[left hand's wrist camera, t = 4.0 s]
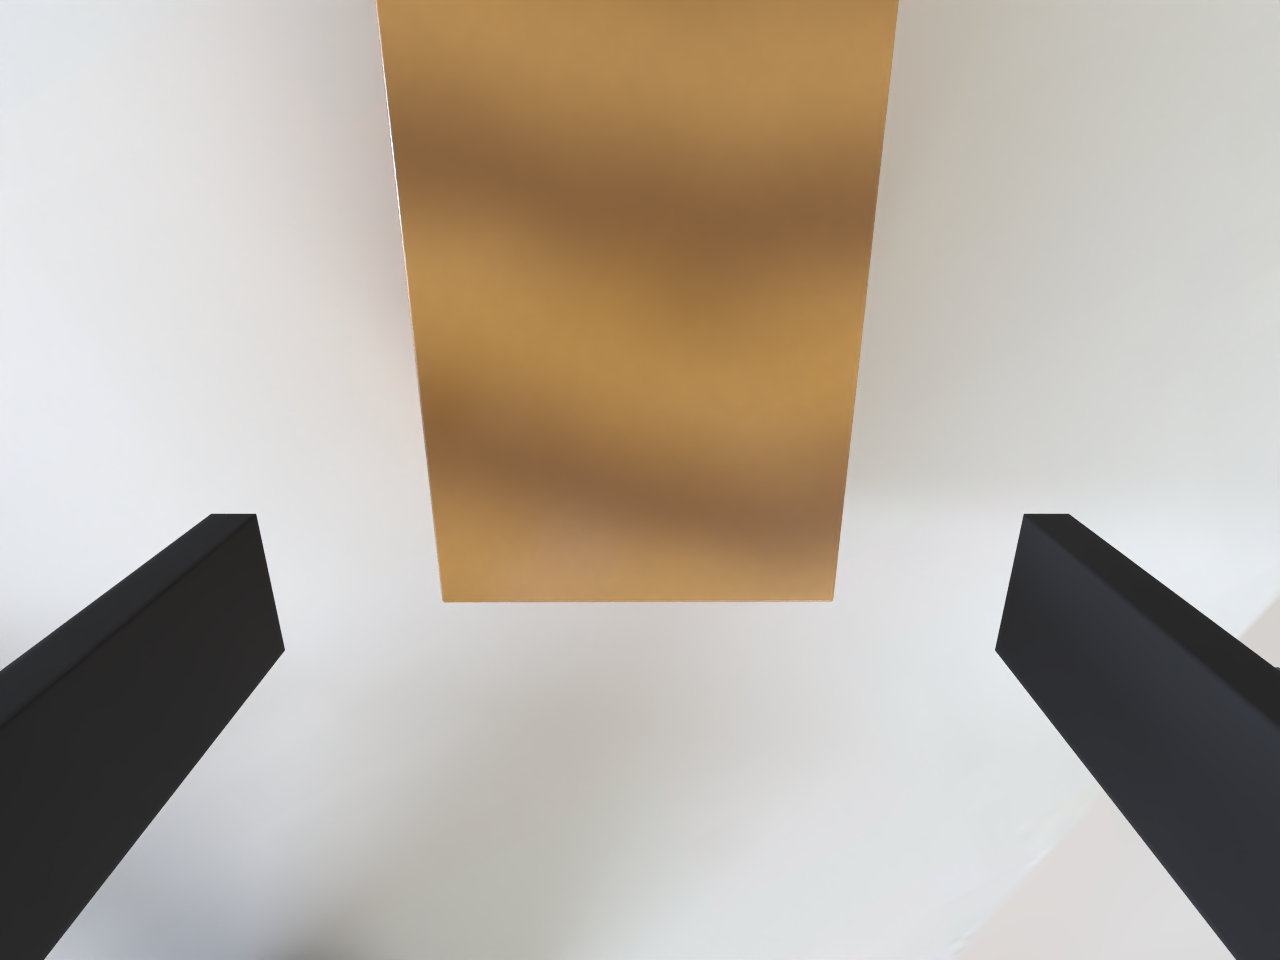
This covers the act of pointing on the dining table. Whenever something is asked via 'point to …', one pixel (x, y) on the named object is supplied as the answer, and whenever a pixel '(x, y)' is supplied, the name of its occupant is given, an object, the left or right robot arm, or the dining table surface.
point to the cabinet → (637, 286)
